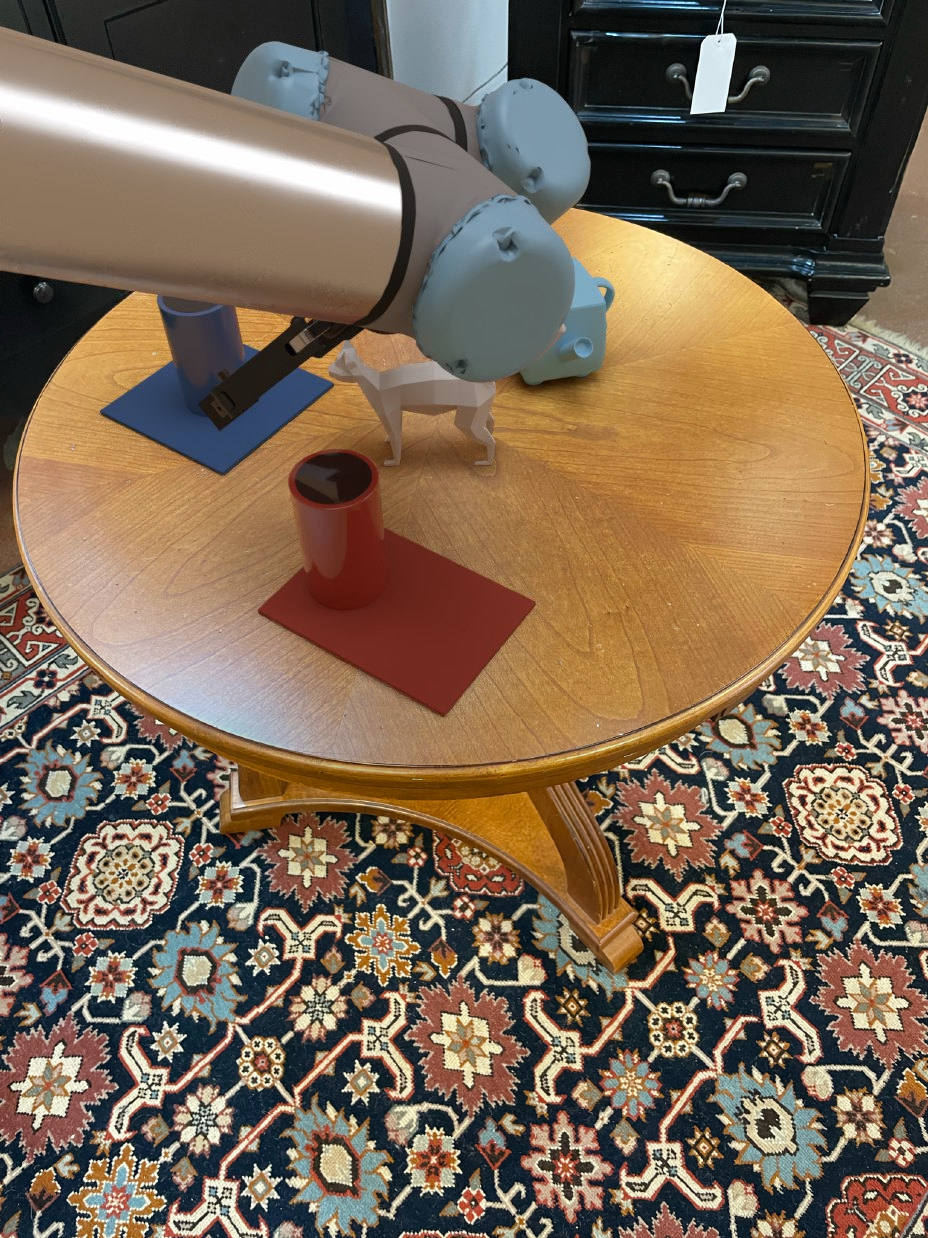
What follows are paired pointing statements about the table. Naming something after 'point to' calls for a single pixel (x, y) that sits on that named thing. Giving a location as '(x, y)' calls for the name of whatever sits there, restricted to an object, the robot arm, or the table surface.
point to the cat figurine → (421, 397)
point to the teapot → (577, 333)
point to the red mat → (411, 623)
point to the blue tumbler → (201, 345)
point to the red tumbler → (340, 527)
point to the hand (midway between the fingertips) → (267, 373)
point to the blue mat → (173, 425)
